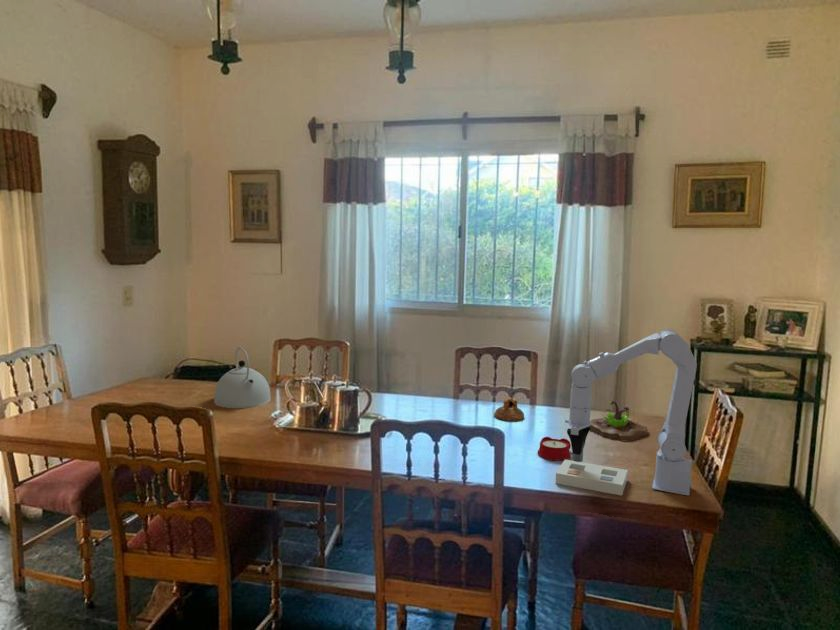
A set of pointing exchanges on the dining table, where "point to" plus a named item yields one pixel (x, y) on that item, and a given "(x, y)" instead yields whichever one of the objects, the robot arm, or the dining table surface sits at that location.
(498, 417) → the brown pouch
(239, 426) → the dining table surface
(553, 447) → the alarm clock
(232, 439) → the dining table surface
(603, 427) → the plant
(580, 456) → the plug
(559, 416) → the dining table surface
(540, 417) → the dining table surface
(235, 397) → the kettle
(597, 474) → the socket block
